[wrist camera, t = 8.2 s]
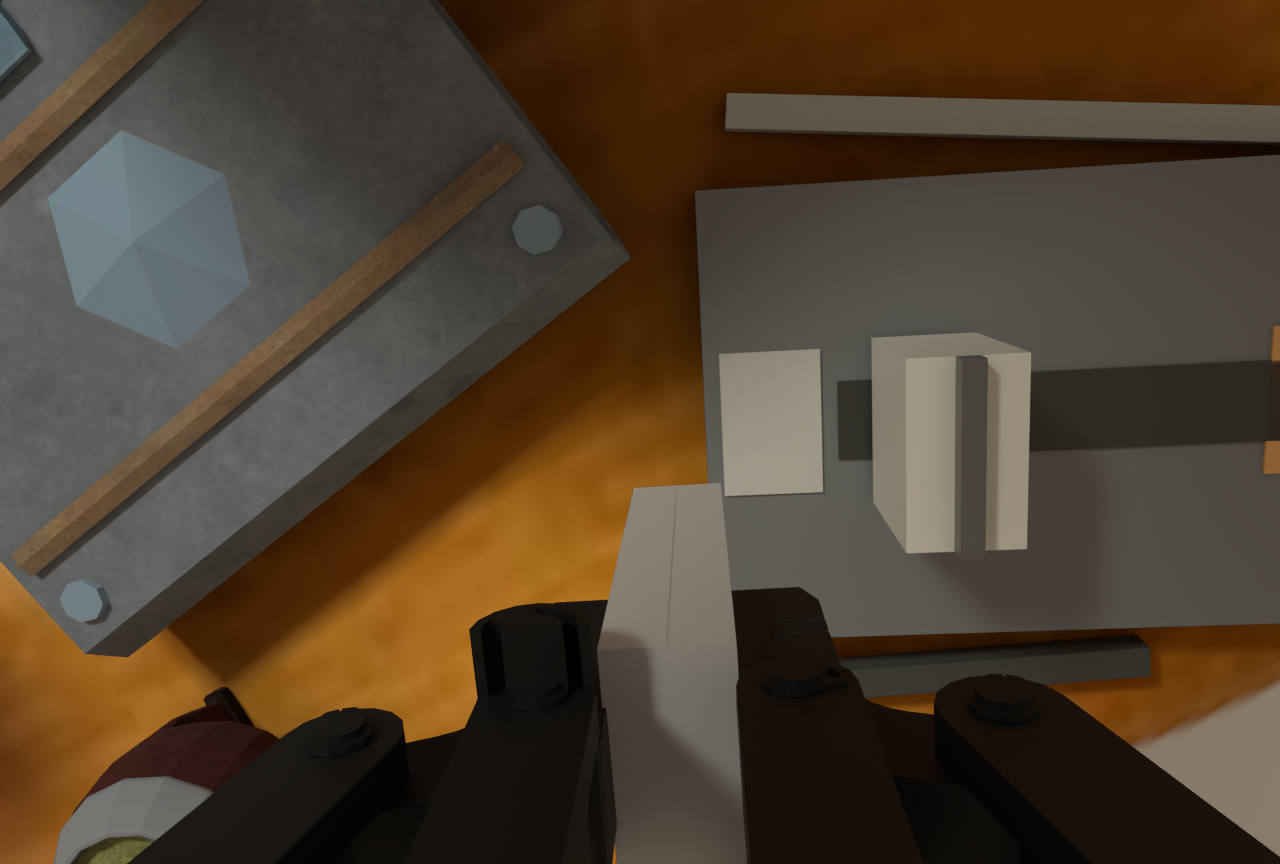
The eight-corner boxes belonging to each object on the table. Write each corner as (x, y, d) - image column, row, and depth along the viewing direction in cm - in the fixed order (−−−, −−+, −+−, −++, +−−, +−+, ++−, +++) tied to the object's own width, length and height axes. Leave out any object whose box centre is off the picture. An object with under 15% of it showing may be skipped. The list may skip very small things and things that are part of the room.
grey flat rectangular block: (714, 616, 33) (715, 642, 31) (694, 193, 30) (694, 191, 28) (1328, 596, 32) (1372, 621, 30) (1367, 152, 29) (1418, 145, 27)
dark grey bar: (718, 694, 34) (719, 708, 33) (715, 667, 34) (716, 680, 33) (1136, 662, 33) (1150, 676, 32) (1136, 635, 32) (1150, 647, 31)
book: (172, 623, 35) (87, 687, 30) (-159, 252, 33) (-308, 256, 28) (635, 256, 31) (624, 260, 27) (297, -184, 29) (218, -267, 24)
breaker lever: (873, 502, 30) (911, 561, 24) (871, 337, 29) (910, 362, 23) (974, 498, 29) (1034, 556, 24) (975, 332, 28) (1039, 355, 23)
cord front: (724, 131, 30) (725, 128, 29) (726, 97, 30) (727, 92, 29) (1329, 146, 29) (1352, 144, 28) (1335, 111, 29) (1358, 107, 28)
